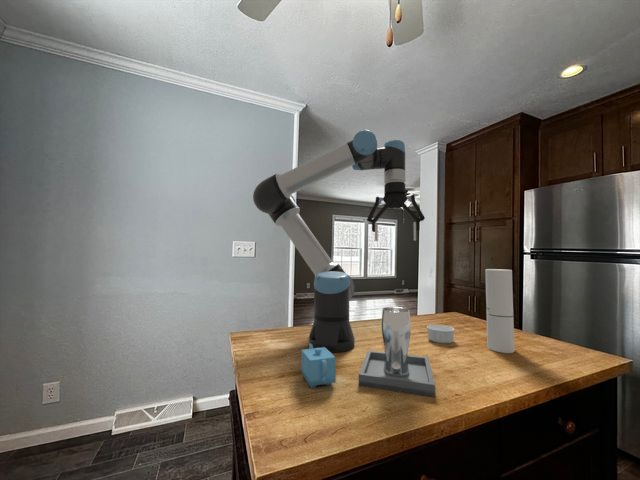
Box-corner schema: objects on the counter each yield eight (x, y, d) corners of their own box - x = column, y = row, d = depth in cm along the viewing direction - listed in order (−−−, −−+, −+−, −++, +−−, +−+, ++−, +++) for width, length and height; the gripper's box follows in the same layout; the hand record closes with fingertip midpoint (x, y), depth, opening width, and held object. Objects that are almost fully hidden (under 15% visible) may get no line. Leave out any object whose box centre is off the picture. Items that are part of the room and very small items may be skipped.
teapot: (297, 371, 69) (298, 340, 69) (320, 367, 71) (320, 338, 71) (311, 394, 57) (312, 358, 58) (338, 389, 59) (338, 354, 60)
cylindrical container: (505, 345, 89) (503, 269, 90) (519, 353, 82) (517, 270, 83) (483, 344, 90) (481, 269, 91) (494, 352, 83) (492, 270, 84)
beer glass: (411, 367, 69) (410, 307, 69) (411, 379, 62) (410, 313, 63) (383, 363, 71) (382, 306, 72) (380, 375, 64) (379, 311, 65)
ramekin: (421, 338, 97) (421, 326, 97) (438, 335, 101) (438, 323, 101) (442, 345, 89) (442, 332, 89) (460, 341, 93) (460, 329, 93)
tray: (358, 385, 61) (358, 374, 61) (367, 359, 76) (367, 350, 76) (435, 397, 56) (435, 384, 56) (428, 366, 72) (428, 357, 72)
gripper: (430, 183, 100) (430, 240, 99) (362, 188, 107) (362, 241, 106) (432, 178, 93) (433, 239, 92) (359, 183, 100) (359, 240, 99)
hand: (395, 240), depth 99 cm, fingers open, 13 cm apart
